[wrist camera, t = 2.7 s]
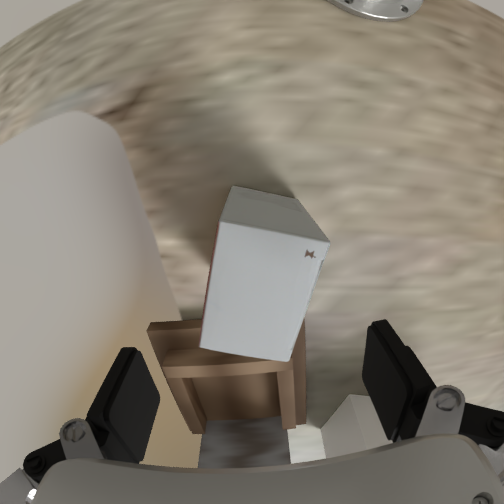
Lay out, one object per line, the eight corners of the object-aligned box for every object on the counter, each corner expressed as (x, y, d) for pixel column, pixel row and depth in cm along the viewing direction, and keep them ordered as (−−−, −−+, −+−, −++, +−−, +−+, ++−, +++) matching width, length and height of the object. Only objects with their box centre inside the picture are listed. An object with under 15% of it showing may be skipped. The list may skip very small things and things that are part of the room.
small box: (232, 183, 23) (217, 214, 13) (299, 198, 24) (334, 239, 14) (214, 273, 26) (195, 350, 16) (276, 285, 26) (289, 365, 16)
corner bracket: (421, 382, 32) (456, 446, 21) (378, 431, 36) (399, 491, 25) (362, 375, 31) (393, 456, 20) (320, 429, 35) (334, 500, 23)
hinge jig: (301, 308, 27) (335, 434, 14) (304, 415, 33) (319, 510, 20) (150, 322, 28) (99, 435, 14) (191, 422, 34) (176, 513, 20)
